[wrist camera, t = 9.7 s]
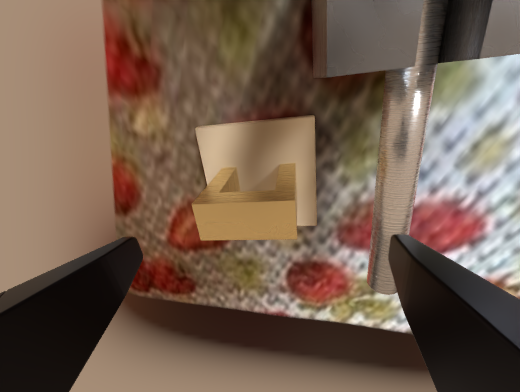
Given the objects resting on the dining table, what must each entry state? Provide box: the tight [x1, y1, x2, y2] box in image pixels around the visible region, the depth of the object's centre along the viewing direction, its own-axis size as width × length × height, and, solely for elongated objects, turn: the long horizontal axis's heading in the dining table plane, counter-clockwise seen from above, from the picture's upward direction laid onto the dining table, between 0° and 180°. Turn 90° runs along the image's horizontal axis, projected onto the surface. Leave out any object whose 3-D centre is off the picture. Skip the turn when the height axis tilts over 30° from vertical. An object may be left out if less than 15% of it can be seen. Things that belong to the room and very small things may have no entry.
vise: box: [311, 0, 520, 295], centre depth 14 cm, size 8×19×9 cm, turn 6°
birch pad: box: [195, 115, 317, 226], centre depth 20 cm, size 9×9×1 cm
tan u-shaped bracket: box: [192, 163, 297, 240], centre depth 17 cm, size 6×2×6 cm, turn 96°
